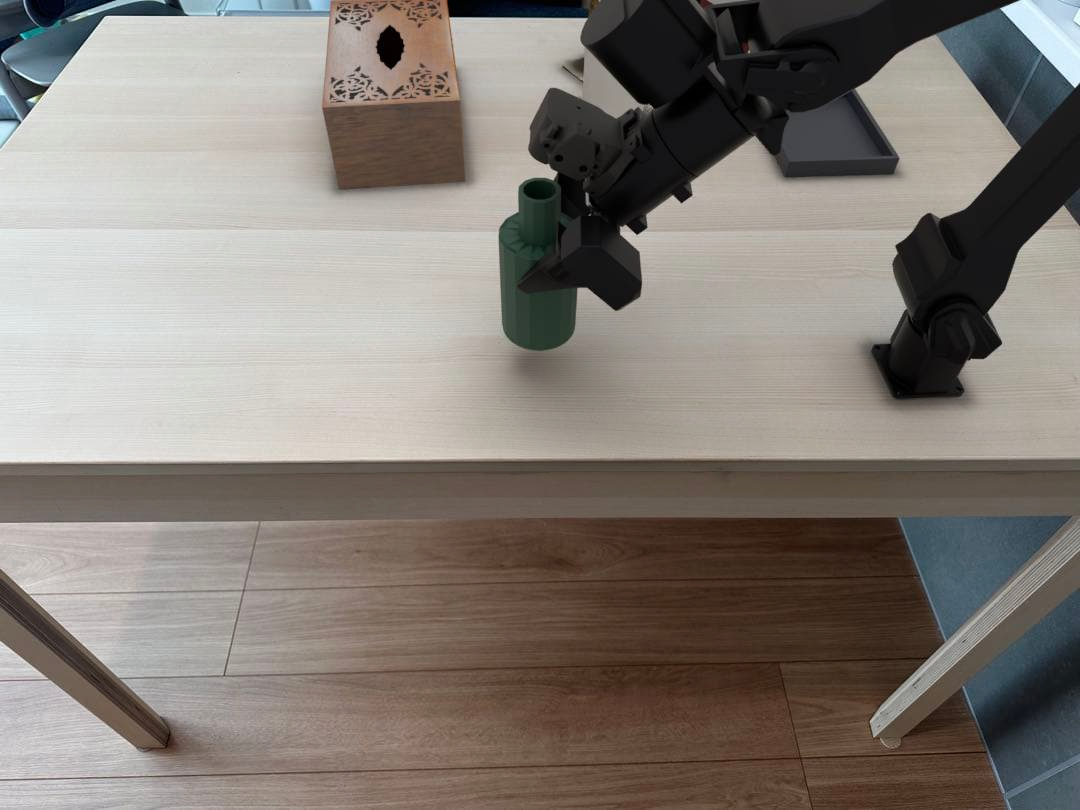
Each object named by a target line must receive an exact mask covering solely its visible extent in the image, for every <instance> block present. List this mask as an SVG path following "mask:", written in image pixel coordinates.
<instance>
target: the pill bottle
mask: <svg viewBox="0 0 1080 810" xmlns="http://www.w3.org/2000/svg"><path fill="white" fill-rule="evenodd" d="M599 2H600V0H599ZM583 57H584V78H583V81H582V82H583V83H582V84H583V85H582V100H584V101H586V102H589V103H591V104H593V105H595V106H597V107H599V108H600V109H602V110H603V111H604V112H605V113H607V114H609V115H611V116H613V117H614V118H616V119H617V118H618V117H620V116H622V115H623V114H624V113H625V112H626V111H628V110H629V109H633V110H635V109H636V108H637V107H639V108H640V109H641V110H642V111H643V112H644V109H645V105H641V104H639V103H637V101H636V100H635V99H634V98H633V97H632V96H631V95H630V94H629V93H628V92H627V91H626V90H625V89H624V88H623V87H622V86H621V85H620V83H619V82H618V81H617V80H616V79H615V78H614V77H613V76H612V75H611V74H610V73H609V72H608V71H607V70H606V69H605V68H604V66H603V65H602V64H601V63H600V62H599V61H598V60H597V59H596V58H595V57H594V56H593V55H592V54H591V53H590V52H589V51H588V50H587V48H586V47H585V46H584V56H583Z"/></svg>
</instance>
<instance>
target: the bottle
mask: <svg viewBox="0 0 1080 810" xmlns="http://www.w3.org/2000/svg"><path fill="white" fill-rule="evenodd" d="M517 190H518V191H517V202H518V203H517V204H518V211H517V212H516V213H513V214H511V215H510V216H508V217H507V218H505V220H504V221H503V222H502V224H501V225H500V226H499V228H498V258H499V259H498V262H499V285H500V307H501V326H502V330H503V333H504V335H505V337H506V338H507V339H508V340H509V341H510V342H511V343H512V344H514V345H515V346H517V347H519V348H521V349H524V350H528V351H535V352H536V351H537V352H544V351H550V350H554V349H557V348H559V347H561V346H563V345H565V344H566V343H567V342H568V341H569V340H570V339H571V338H572V337H573V335H574V333H575V330H576V324H577V323H576V322H577V307H578V305H577V304H578V289H579V288H571V289H562V290H554V291H546V292H537V293H529V294H525V293H523V292H522V291H521V290H519V289H518V288H517V283H518V281H519V280H520V279H521V278H522V277H523V276H524V275H525V274H526V273H527V271H529V270H530V269H531V268H532V267H533V266H534V265H535V264H536V263H537V262H538V261H539V260H540V259H541V258H542V257H543V256H544V255H545V254H546V253H547V252H548V251H549V250H550V249H551V248H552V247H553V246H554V245H555V244H556V229H557V222H558V221H559V222H560V223H561V224H562V225H564V226H565V227H566V228H567V227H568V225H569V224H570V223H571V222H572V221H574V220H573V219H572V218H570V217H568V216H567V215H565V214H564V213H561V186H560V185H559V184H558V183H557V182H556V181H554V179H550V178H549V177H532V178H529V179H525V180H524V181H523V182H522V183H520V184H519V185H518V188H517Z"/></svg>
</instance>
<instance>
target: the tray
mask: <svg viewBox="0 0 1080 810" xmlns="http://www.w3.org/2000/svg"><path fill="white" fill-rule="evenodd" d="M764 98H766V97H764ZM787 111H788V114H789V120H788V122H787V124H786V126H785V129H784V133H783V140H782V146H781V152H780V153H779V154H778V155H774V157H775V158H776V161H777V163H778V165H779V167H780V170H781V172H782V174H783V176H784V177H785V178H793V177H794V178H795V177H827V176H829V177H831V176H859V175H863V176H864V175H891V174H895V171H896V169H897V166H898V163H899V161H900V159H901V158H900V157H899V154H898V153H897V151H896V150H895V148H894V147H893V145H892V144H891V142H890V141H889V138H887V136H886V135H885V133H884V131H883V130H882V128H881V126H880V125H879V123H878V122H877V121H876V119H875V118H874V115H873V114H872V113H871V111H870V110H869V108H868V106H867V105H866V103H865V102H864V101H863V98H861V95H860V94H859V93H858V91H857V89H854V90H852V91H850V92H848V93H847V94H845V95H843V96H841V97H839V98H838V99H836V100H834V101H832V102H830V103H829V104H827V105H825V106H823V107H821V108H819V109H817V110H813V111H809V112H805V113H791V112H790V111H789V110H787Z"/></svg>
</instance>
